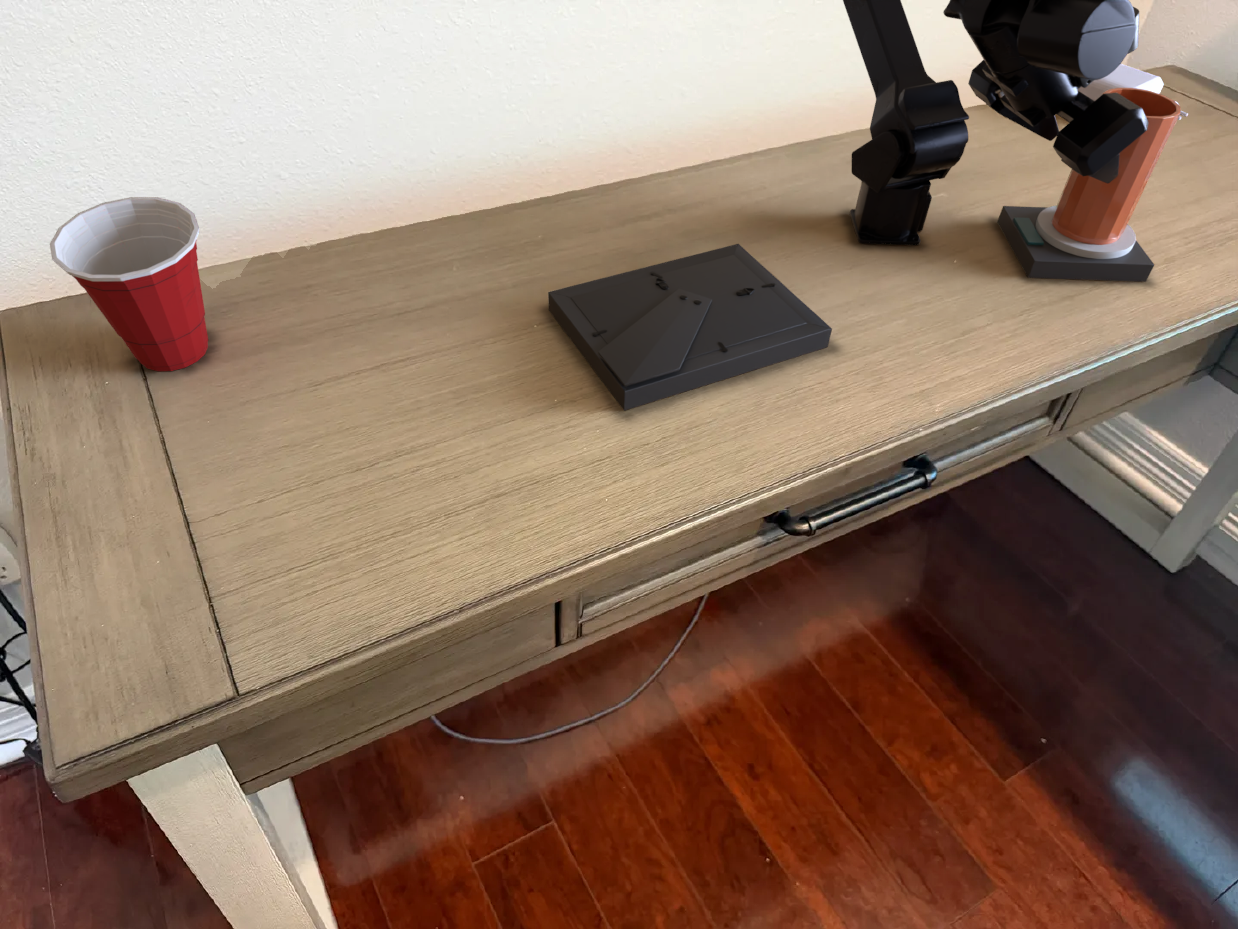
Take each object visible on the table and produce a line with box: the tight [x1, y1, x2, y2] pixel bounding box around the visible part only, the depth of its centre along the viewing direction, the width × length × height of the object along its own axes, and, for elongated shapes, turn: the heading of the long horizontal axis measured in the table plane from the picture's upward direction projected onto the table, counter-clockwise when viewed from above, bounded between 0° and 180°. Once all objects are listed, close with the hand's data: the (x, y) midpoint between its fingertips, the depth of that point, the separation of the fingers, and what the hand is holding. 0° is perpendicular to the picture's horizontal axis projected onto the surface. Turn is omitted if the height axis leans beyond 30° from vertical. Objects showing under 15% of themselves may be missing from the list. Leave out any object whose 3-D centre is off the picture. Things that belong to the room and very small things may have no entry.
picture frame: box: [547, 243, 833, 412], centre depth 81 cm, size 16×3×21 cm
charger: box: [1078, 63, 1189, 121], centre depth 117 cm, size 5×9×15 cm
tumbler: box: [1052, 88, 1182, 245], centre depth 87 cm, size 7×7×13 cm
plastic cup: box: [49, 196, 209, 372], centre depth 74 cm, size 11×11×12 cm
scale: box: [997, 204, 1155, 283], centre depth 93 cm, size 12×11×3 cm
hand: (1082, 157), depth 86 cm, fingers open, 9 cm apart
